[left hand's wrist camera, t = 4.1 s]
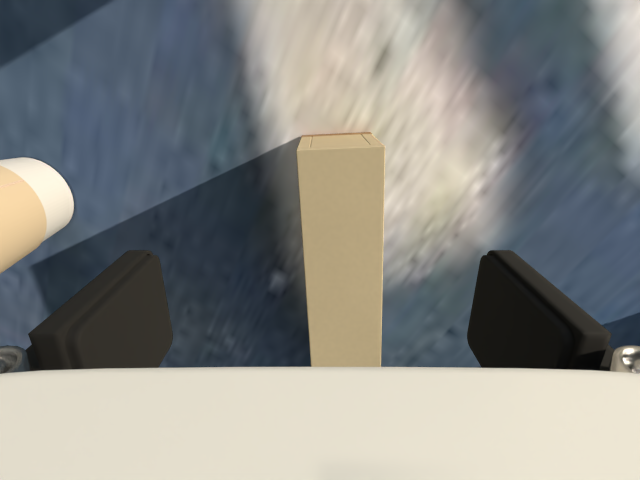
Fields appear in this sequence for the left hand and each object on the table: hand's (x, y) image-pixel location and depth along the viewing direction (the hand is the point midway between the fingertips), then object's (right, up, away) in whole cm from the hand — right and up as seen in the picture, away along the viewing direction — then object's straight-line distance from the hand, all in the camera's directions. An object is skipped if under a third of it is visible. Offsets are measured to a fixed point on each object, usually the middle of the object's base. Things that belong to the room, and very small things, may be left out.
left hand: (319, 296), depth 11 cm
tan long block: (+2, 0, +24) cm, 24 cm away
